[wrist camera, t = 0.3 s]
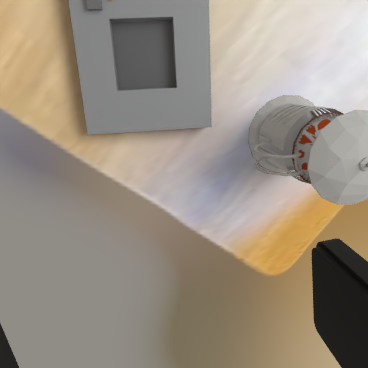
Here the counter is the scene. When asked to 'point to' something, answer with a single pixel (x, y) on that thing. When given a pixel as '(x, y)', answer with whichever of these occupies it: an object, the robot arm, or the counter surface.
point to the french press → (313, 147)
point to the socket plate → (143, 64)
